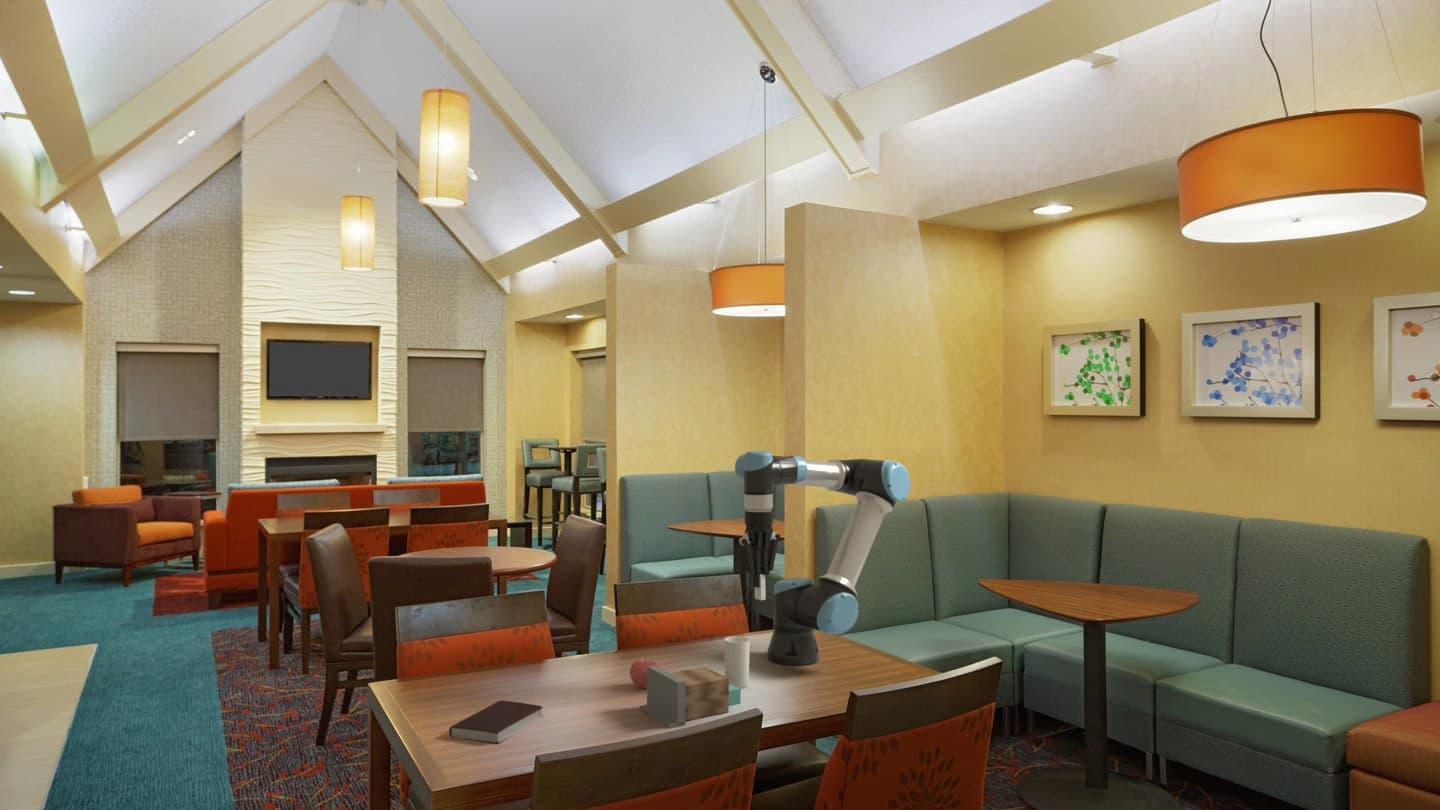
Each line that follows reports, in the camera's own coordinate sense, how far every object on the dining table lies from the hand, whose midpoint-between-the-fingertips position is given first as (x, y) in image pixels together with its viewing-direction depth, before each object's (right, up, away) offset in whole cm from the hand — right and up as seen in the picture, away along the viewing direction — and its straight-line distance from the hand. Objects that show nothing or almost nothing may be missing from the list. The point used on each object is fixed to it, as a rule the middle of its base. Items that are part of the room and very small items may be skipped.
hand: (760, 598), depth 237 cm
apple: (-30, -23, -3) cm, 38 cm away
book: (-61, -23, -32) cm, 73 cm away
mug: (-7, -23, +1) cm, 24 cm away
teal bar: (-13, -23, -17) cm, 31 cm away
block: (-17, -23, -20) cm, 34 cm away
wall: (-23, -22, -25) cm, 41 cm away
